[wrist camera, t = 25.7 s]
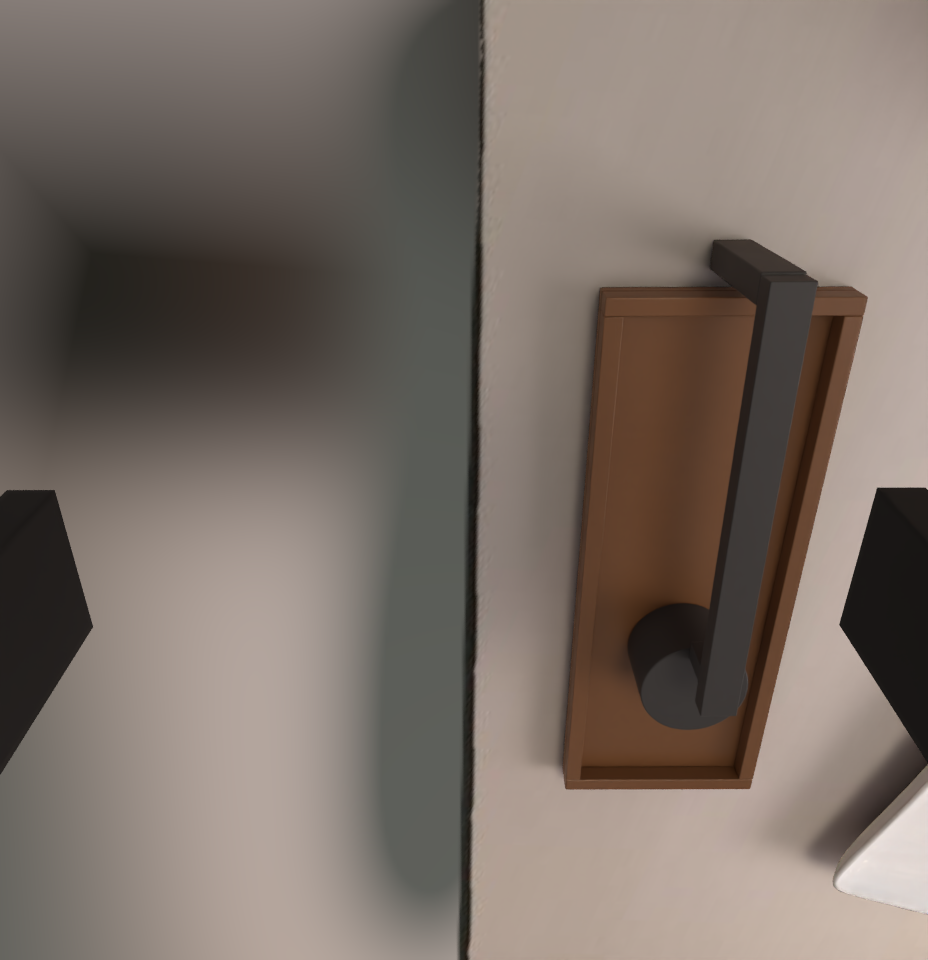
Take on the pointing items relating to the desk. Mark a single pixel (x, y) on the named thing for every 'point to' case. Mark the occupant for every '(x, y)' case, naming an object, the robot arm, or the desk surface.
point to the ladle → (733, 508)
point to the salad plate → (892, 853)
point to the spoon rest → (685, 518)
